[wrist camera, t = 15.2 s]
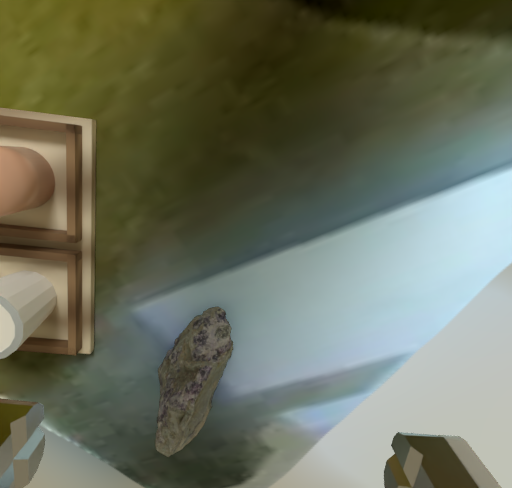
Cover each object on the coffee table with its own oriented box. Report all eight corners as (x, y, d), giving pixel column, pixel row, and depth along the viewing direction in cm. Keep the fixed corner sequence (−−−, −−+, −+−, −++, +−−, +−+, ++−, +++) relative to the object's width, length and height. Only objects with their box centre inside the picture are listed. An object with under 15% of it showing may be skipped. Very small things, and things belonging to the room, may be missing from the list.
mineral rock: (220, 294, 39) (213, 339, 29) (275, 362, 42) (285, 425, 32) (131, 356, 41) (95, 419, 31) (188, 418, 43) (173, 495, 33)
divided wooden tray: (-44, 102, 33) (-67, 98, 31) (96, 120, 34) (85, 117, 32) (-25, 339, 39) (-43, 351, 37) (94, 349, 40) (84, 361, 38)
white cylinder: (19, 334, 38) (-29, 373, 31) (-18, 280, 37) (-77, 308, 30) (75, 310, 38) (38, 343, 31) (40, 254, 36) (-7, 276, 29)
